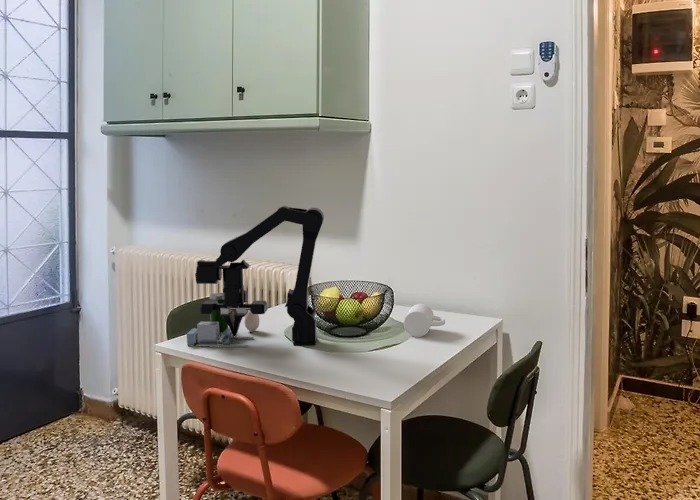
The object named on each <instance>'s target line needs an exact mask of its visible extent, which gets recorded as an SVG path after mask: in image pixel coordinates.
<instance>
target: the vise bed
mask: <svg viewBox="0 0 700 500" xmlns="http://www.w3.org/2000/svg"><path fill="white" fill-rule="evenodd" d="M219 337H220V340H222V336H219ZM254 339H255V337H254V336H234V340H254ZM186 344H187V345H194V346H196V348H198V347H197V346H214V347H213V348H216V347H215V346H219V347H218V348H249V344H230V345H225V344H223V343H221V344H219V343H218V344H198V333H197V328H196V327H193V328H191V329H190V330H189V331H188V332H187V333H186ZM187 345H186V346H187ZM220 346H221V347H220Z"/></svg>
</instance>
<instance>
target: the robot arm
mask: <svg viewBox="0 0 700 500" xmlns="http://www.w3.org/2000/svg"><path fill="white" fill-rule="evenodd" d="M324 220H325V215H324V212H323V211H322V209H320V208H318V207H310V208H308V209H305V208H298V207H290V206H286V205H282V206H280V207H279V208H278V209H277V210H276V211H274V212H273V213H272V214H270V215H269V216H268V217H266V218H265V219H263V220H262V221H260V223H258V224H257V225H255V226H254V227H252V228H251V229H250V230H248V231H247V232H245V233H242V234H240V235H238V236H235V237H234V238H232V239H230V240H228V241H226V242H225V243H224V244H223V245H221V246H220V254H219V256H218V257H217V258H216V259H215V260H203V259H199V260H198V261H196V265H197V266H196V270H195V274H194V275H195V277H194V278H195V282H196V284H197V285H204V284H205V285H210V284H211V285H215V284H218V283H219V281H222V286H223V287H222V293H223V298H224V303H223V304H218V301H217V300H209V299H208V300H207V299H206V300H205V301H204V302H202V303H201V304H200V305H199V312H200V313H199V314H200V315H210V314H211V313H212V312H213V310H221V314H220V317H223V318H224V319H225V321H226V322H227V324H228V328H230V330H231V332H232V334H233V336H234V337H238V336H237V335H238V332H239V328H240V326H241V323H242V320H243V319H244V318H245V316H246V314H247V313H248V310H250V311H251V313H253V314H258V315H265V314H266V312H267V311H268V302H267V301H266V300H253V301H252V302H251V303H247V302H248V291H247V290H245V285H244V270H247V269H248V268H250V264H249V263H248V262H246V260H245V259H242V260H241V261H238V262H237V260H238V259H239V258H241V256H242V255H243V254H244V253H245V252H246V251H247V250H248V249H249V248H251V247H252V245H253V244H254V243H256V242H257V241H258V240H260V239H261V238H263V237H264V236H265V235H267V234H268V233H269V232H271V231H273V230H274V229H275V228H276V227H278V226H280V225H281V224H283V222H290V223H292V224H297V225H302V244H301V251H300V257H299V261H298V267H297V273H296V279H295V285H294V287H293V289H292V288H289V289H288V291H287V294H286V296H287V299H286V300H287V301H286V303H285V305H284V308H286V313H287V314H288V315H289V317H290V318H291V319H293V321H294V322H293V325H292V327H291V340H292V345H294V346H315V345H317V341H318V336H317V320H316V319H315V316H316V313H317V312H316V310H315V309H313V308H312V306H310V305H309V281H310V276H311V271H312V270H311V269H312V265H313V260H314V253H315V248H316V243H317V239H318V236H319V233H320V232H321V227H322V225H323V223H324ZM228 262H229V264H228V265H225V264H227V263H228ZM235 312H236V313H235Z"/></svg>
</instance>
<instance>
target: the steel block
mask: <svg viewBox="0 0 700 500" xmlns="http://www.w3.org/2000/svg"><path fill="white" fill-rule="evenodd" d="M196 327H197V333H198V342H197V344H217V343H218V342H219V343H220V342H221V339H220V337H221V336H220V334H219V322H211V321H199V322H198V323H197V325H196ZM219 343H218V344H219Z"/></svg>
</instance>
